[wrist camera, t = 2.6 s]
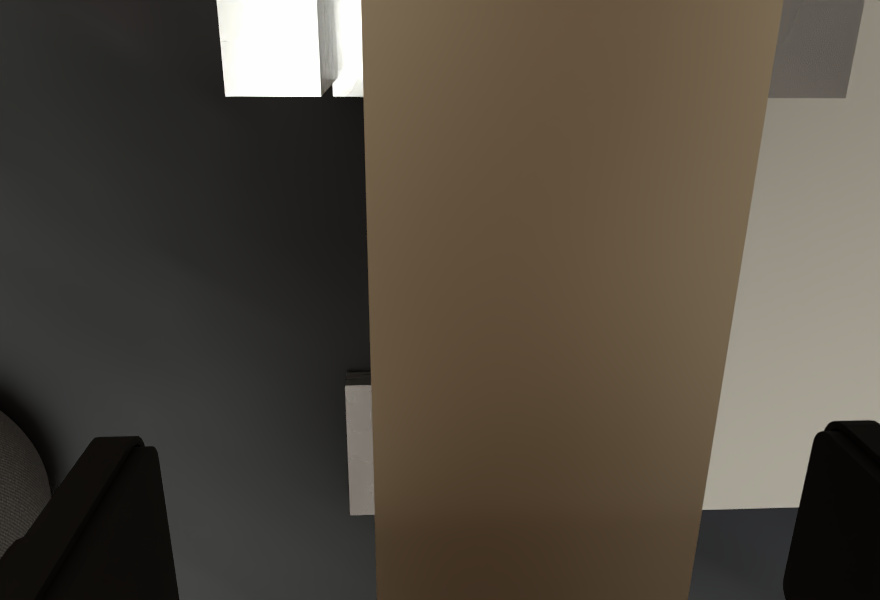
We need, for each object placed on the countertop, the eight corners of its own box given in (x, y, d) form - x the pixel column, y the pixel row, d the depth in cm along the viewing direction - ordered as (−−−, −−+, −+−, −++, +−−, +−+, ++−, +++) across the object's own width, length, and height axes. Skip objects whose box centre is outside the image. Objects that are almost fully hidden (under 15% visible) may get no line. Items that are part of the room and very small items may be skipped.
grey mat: (1093, -282, 19) (1114, -290, 19) (888, 494, 28) (898, 504, 27) (718, -294, 19) (728, -303, 18) (625, 501, 27) (630, 512, 27)
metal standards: (550, -97, 20) (983, -404, 5) (518, 493, 27) (670, 1081, 12) (327, -101, 20) (132, -440, 5) (351, 497, 27) (297, 1108, 12)
